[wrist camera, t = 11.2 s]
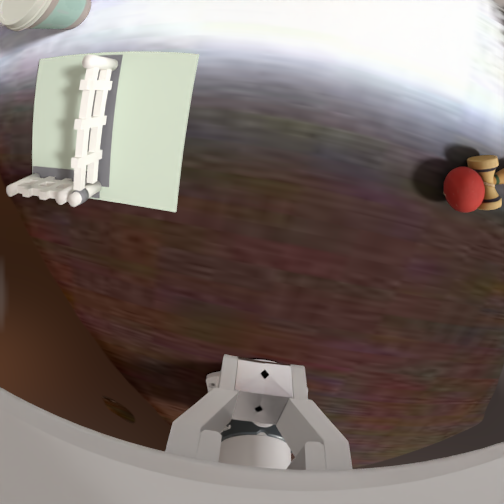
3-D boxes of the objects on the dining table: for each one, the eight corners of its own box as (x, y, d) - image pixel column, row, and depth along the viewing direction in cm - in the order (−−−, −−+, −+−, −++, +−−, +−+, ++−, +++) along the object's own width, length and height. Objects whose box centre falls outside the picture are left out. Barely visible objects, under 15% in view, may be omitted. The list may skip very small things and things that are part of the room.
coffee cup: (108, -17, 25) (60, -44, 14) (88, 38, 29) (31, 27, 18) (62, -13, 24) (10, -31, 14) (44, 38, 28) (-13, 32, 17)
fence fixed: (90, 178, 37) (64, 192, 31) (90, 190, 38) (65, 205, 32) (33, 172, 37) (5, 184, 31) (33, 182, 37) (6, 196, 32)
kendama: (512, 135, 32) (434, 158, 33) (541, 150, 27) (466, 177, 28) (510, 179, 36) (435, 209, 38) (536, 196, 31) (462, 232, 32)
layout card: (176, 211, 39) (175, 212, 39) (34, 189, 38) (32, 190, 38) (199, 54, 30) (198, 54, 30) (41, 59, 29) (39, 59, 29)
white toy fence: (101, 193, 38) (78, 208, 32) (90, 191, 38) (67, 206, 32) (120, 59, 30) (96, 54, 24) (107, 59, 30) (82, 54, 24)
